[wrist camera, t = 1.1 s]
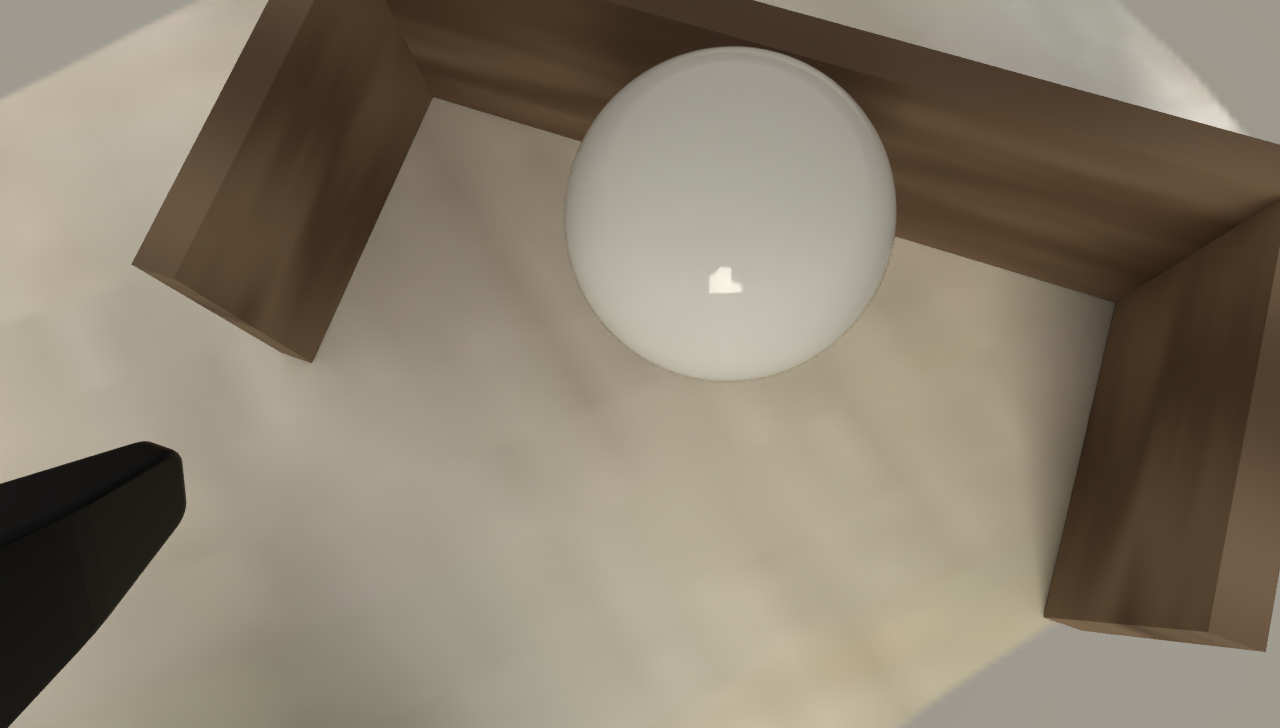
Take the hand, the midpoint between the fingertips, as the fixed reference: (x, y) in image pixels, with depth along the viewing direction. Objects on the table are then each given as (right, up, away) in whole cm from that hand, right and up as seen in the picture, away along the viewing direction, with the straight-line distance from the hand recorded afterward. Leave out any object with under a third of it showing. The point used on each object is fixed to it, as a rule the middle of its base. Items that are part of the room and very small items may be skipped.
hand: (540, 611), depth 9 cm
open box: (+3, +4, +15) cm, 16 cm away
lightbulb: (+3, +4, +15) cm, 16 cm away
